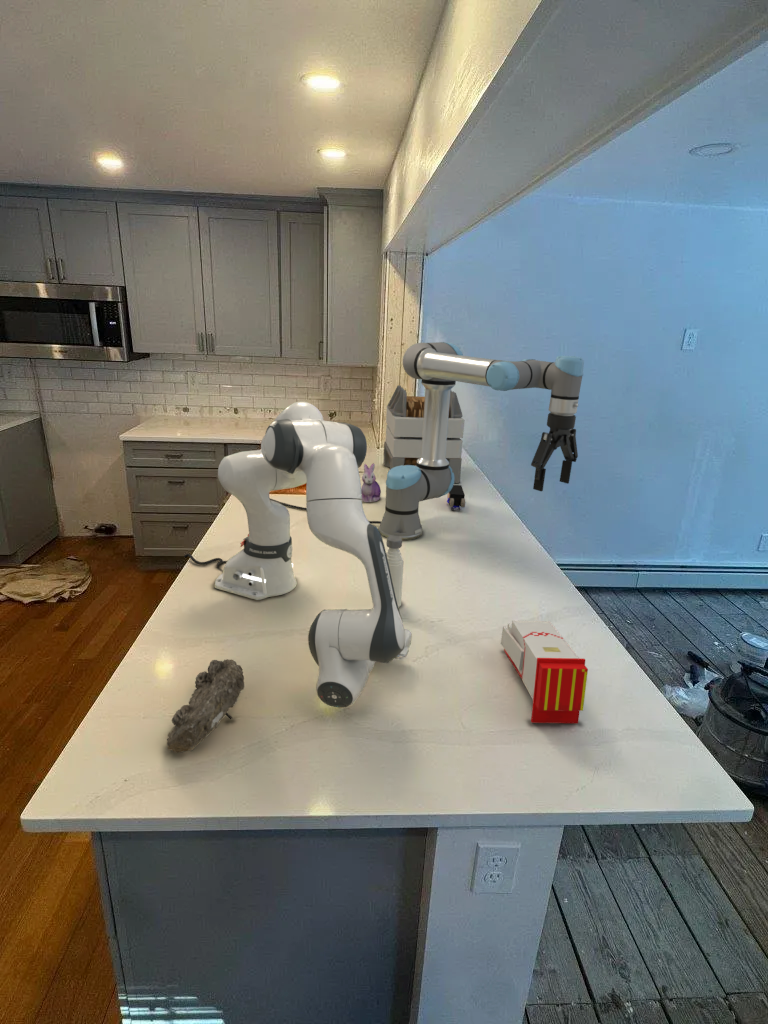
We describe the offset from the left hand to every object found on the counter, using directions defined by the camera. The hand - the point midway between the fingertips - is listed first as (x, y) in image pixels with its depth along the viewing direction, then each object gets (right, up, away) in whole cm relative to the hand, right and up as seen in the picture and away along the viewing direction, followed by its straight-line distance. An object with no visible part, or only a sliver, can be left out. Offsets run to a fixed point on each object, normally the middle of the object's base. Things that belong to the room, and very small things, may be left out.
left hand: (374, 618), depth 133 cm
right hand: (+51, +33, +32) cm, 69 cm away
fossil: (-30, -14, -25) cm, 42 cm away
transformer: (+20, +44, +142) cm, 150 cm away
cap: (+5, +18, +13) cm, 23 cm away
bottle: (+4, 0, +19) cm, 20 cm away
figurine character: (+31, +27, +97) cm, 105 cm away
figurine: (-3, +30, +101) cm, 105 cm away
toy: (+35, -12, -10) cm, 38 cm away
